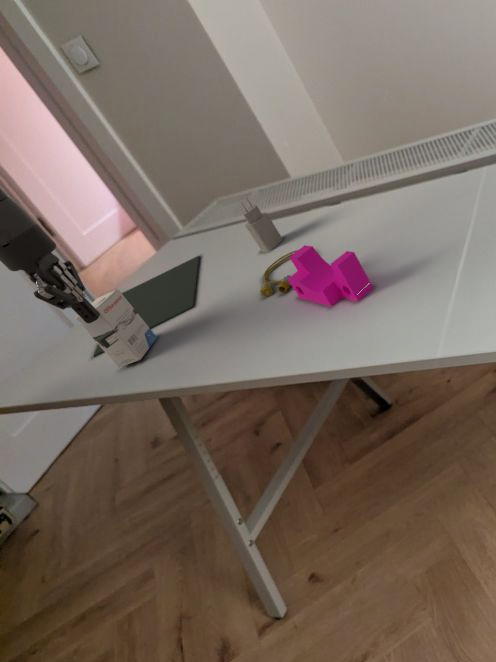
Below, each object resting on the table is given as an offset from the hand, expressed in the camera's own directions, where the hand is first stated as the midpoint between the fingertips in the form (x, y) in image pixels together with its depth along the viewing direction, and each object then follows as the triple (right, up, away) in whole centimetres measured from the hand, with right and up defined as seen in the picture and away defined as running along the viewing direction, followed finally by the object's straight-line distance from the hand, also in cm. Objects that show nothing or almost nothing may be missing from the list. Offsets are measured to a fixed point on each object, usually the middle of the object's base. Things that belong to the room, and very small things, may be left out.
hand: (94, 319), depth 94 cm
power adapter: (+20, +19, +31) cm, 41 cm away
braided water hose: (+28, +10, +16) cm, 34 cm away
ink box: (+2, -6, +10) cm, 12 cm away
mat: (-7, +6, +30) cm, 31 cm away
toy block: (+42, +5, +2) cm, 42 cm away
